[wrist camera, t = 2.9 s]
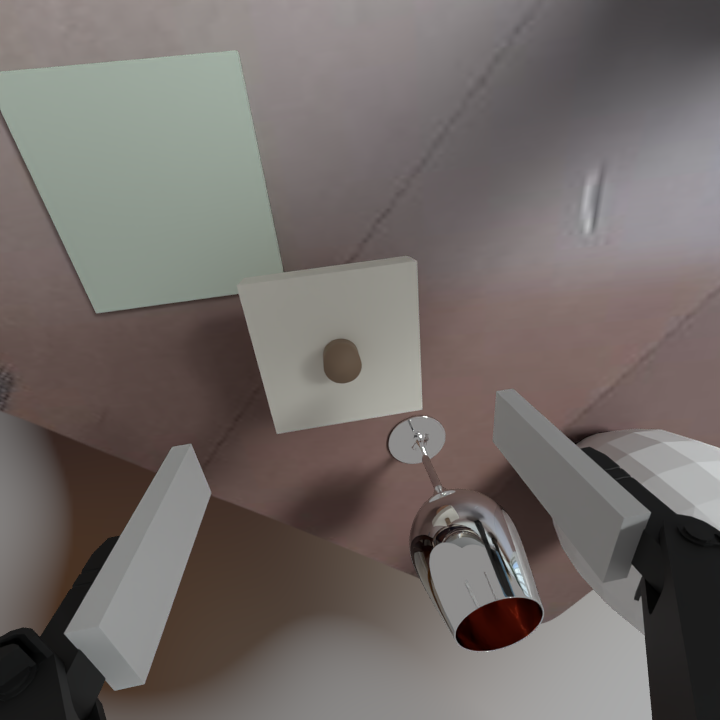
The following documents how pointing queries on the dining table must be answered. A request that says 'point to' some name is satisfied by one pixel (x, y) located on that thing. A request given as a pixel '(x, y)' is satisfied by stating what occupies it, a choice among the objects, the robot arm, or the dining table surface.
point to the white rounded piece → (664, 480)
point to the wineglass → (467, 553)
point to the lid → (336, 341)
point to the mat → (147, 174)
